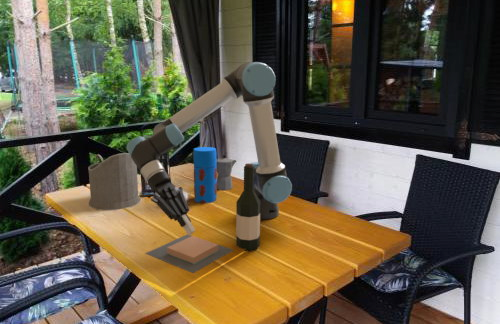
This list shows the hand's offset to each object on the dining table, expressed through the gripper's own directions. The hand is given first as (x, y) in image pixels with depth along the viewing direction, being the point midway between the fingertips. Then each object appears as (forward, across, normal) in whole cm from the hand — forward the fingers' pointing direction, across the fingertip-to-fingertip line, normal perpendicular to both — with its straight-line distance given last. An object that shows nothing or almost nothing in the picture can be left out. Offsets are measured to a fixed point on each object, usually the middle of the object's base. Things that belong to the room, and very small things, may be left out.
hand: (191, 232), depth 130 cm
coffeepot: (-25, -67, -36) cm, 80 cm away
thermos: (-20, -47, -32) cm, 60 cm away
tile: (0, 0, -8) cm, 8 cm away
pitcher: (-45, -19, -57) cm, 75 cm away
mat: (+5, 0, -6) cm, 8 cm away
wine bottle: (+14, -17, +2) cm, 22 cm away
